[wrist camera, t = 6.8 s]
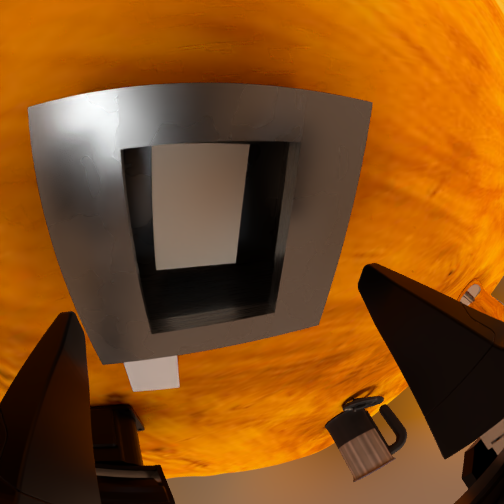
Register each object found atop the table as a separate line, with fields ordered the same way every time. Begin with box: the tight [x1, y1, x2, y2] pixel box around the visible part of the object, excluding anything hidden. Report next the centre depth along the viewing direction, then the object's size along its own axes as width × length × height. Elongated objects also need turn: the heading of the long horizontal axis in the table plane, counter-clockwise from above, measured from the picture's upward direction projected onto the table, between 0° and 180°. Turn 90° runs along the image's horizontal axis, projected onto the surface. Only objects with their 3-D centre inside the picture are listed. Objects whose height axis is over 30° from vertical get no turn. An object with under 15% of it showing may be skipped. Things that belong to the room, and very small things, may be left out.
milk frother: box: [325, 396, 407, 482], centre depth 42 cm, size 14×16×15 cm
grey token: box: [124, 355, 180, 392], centre depth 20 cm, size 6×4×2 cm, turn 171°
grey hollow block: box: [28, 83, 373, 365], centre depth 12 cm, size 11×11×6 cm
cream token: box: [151, 141, 250, 270], centre depth 13 cm, size 6×4×2 cm, turn 172°
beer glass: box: [457, 279, 504, 322], centre depth 33 cm, size 7×7×15 cm
